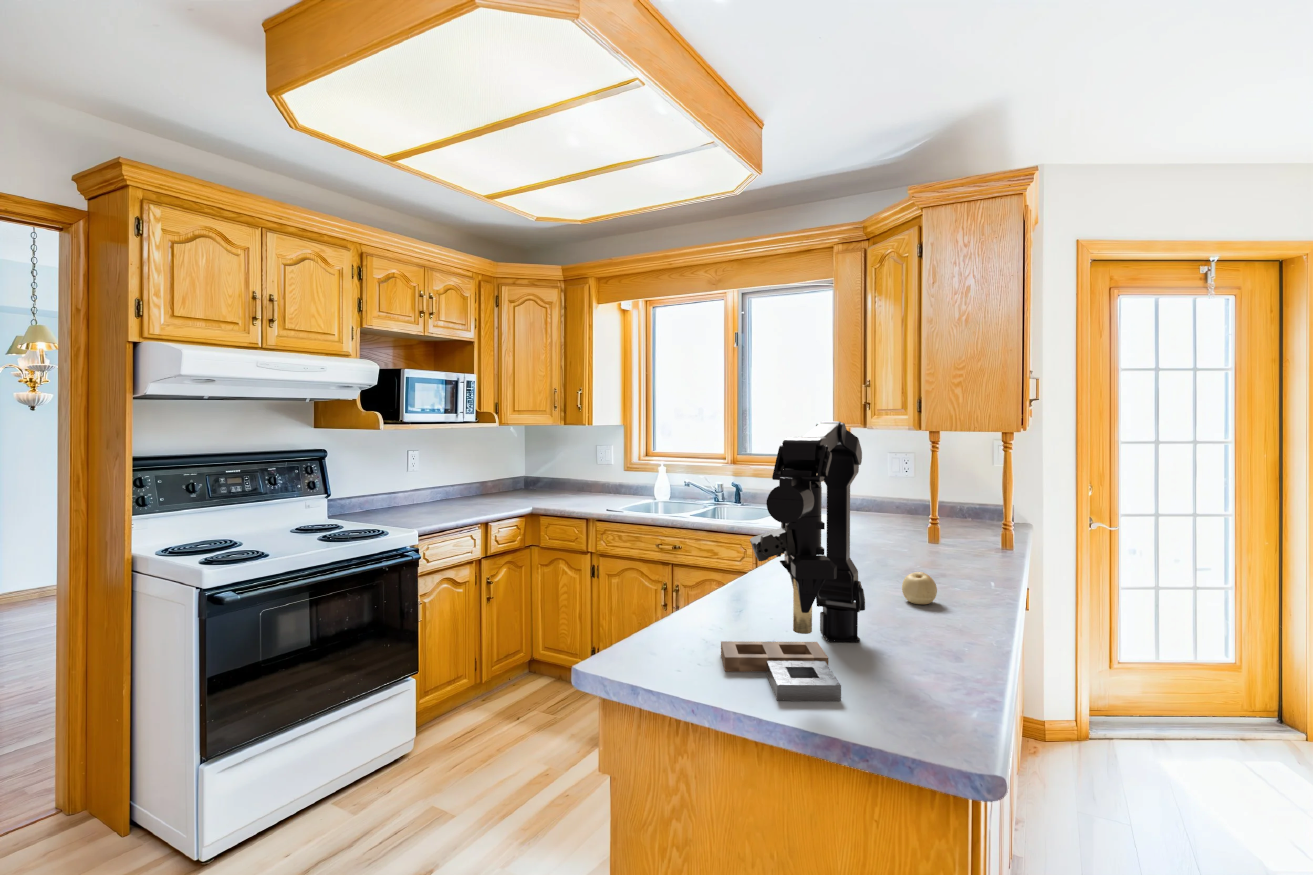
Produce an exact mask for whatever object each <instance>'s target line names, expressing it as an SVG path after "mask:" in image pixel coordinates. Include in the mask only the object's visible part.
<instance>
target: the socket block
mask: <svg viewBox="0 0 1313 875" xmlns="http://www.w3.org/2000/svg"><path fill="white" fill-rule="evenodd" d="M766 678H767V680H768V682H769V685H770V686H771V689H772V692H773V695H774V697H775V699H776V702H778V701H779V702H780V701H782V702H792V701H793V702H815V701H816V702H842V684H841V682H840V681H839V680H838V678H837V677H836V675H835V674H834V673H833V671H832V670H831V668H830V667H829V664H828V665H827V663H826V662H825V661H767V672H766Z"/></svg>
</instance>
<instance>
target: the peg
mask: <svg viewBox="0 0 1313 875" xmlns="http://www.w3.org/2000/svg"><path fill="white" fill-rule="evenodd" d="M792 588H793V590H792V591H793V592H792V593H793V594H792V595H793V597H792V599H793V607H792V613H793V614H792V618H793V619H792V620H793V621H792V622H793V623H792V624H793V625H792V630H793V632H794V633H797V634H801V635H807V634H812V632H813V605H812V606H811V609H810V611H809V612H808V613H802V611H801V607H800V601H799V594H798V588H797V582H796V580H795V579H793V586H792Z"/></svg>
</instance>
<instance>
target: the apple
mask: <svg viewBox="0 0 1313 875" xmlns="http://www.w3.org/2000/svg"><path fill="white" fill-rule="evenodd" d="M901 590H902V591H901V592H902V595H903V596H904V598H905V599H906V600H907V602H909V603H911V604H914V605H928V604H931V603H932V602H934V600H935V599H936V597H937V594H938V588H937V584H936V582H935V580H934V579H933V578H932V577H931V575H928V574H927V573H925V572H922V571H915V572H912V573H909V574H908V575H906V576H905V577H904V579H903V581H902V584H901Z"/></svg>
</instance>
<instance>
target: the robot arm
mask: <svg viewBox="0 0 1313 875" xmlns="http://www.w3.org/2000/svg"><path fill="white" fill-rule="evenodd" d="M777 451H778V452H777V455H776V460H775V463H774V467H773V472H772V475H771V479H772V480H773V481H778V482H779V484H778V486H775V487H774V488H773V489H772V490H771V491H770V492H769V494H768V496H767V498H766V503H765V504H766V508H767V511H768V514H769V516H770V517H771V518H773V520H775V521H777V522H779V523H780V524H781V526H780V528H777V529H772V530H770V531H767V532H766V531H765V532H763V533H761V534H759V535H755V536H752V537H751V538H750V539H749V542H750V545H751V547H752V550H753V553H754V556H755V559H756V558H757V561H758V562H765V561H767V560H768V559H770V558H771V557H775V556H776V557H777V558H778V557H779V558H780V557H782V554H784V560H783V559H782V560H779V563H780V564H781V565H782V567H784V569H785V570H786V571H787V573H788V574H789V577H790V580H791V586H792V587H793V579H795V580H796V582H797V588H798V594H799V601H800V607H801V611H802V613H808V612H809V611H810V609H811V606H812V607H813V604H814V602H815V601H816V607H822V611H820V613H819V631H820V633H821V634H822V636H823V637H824V638H825V640H826V641H827V642H833V643H834V642H835V643H836V642H837V643H841V642H842V643H845V642H846V643H847V642H852V643H853V642H857V643H859V642H861V638H860V637H859V636H858V631H859V630H858V626H859V624H858V619H859V618H858V615H859V614H858V613H860V612H863V611H865V610H866V598H865V590H864V588H863V587H862V583H861V582H862V581H860V580H859V570H858V569H857V567H856V565H855V563H854V562H853V560H852V558H851V485H852V483H853V481H854V480H855V478H856V477H857V475H858V474H859V470H860V469H859V468H860V466H861V465H862V460H863V450H862V446H861V442H860V440H859V437H857V435H855V434H854V433H852V432H850V431H849V430H848V429H847V427H846V424H845V422H841V421H820V422H817V423H816V424H815V427H814V428H812V429H811V430H810V431H808V432H807V433H806V434H805V435H801V436H790V437H786V438H784V439H783V441H782V443H781V444H780V445H779V447H778V450H777ZM822 482H824V483H825V485H826V526H825V522H824V521H822V502H823V501H822V499H823V498H822V496H823V493H822V491H823V490H822V489H823V488H822ZM825 527H826V528H825ZM825 529H826V555H825V548H824V547H823V546H822V530H825Z"/></svg>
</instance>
